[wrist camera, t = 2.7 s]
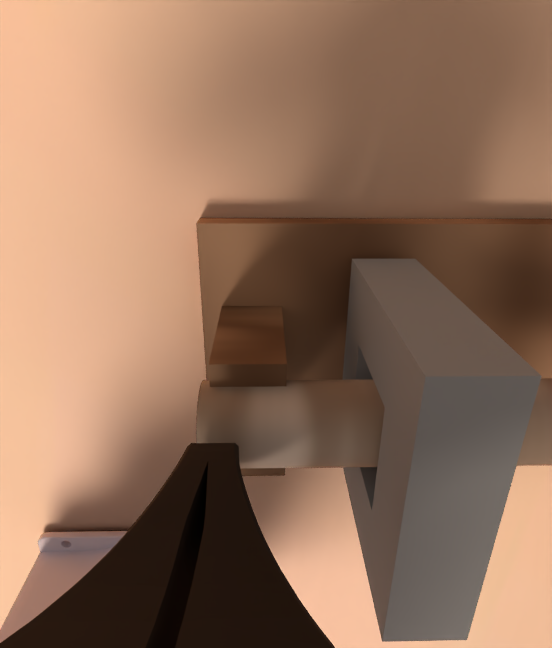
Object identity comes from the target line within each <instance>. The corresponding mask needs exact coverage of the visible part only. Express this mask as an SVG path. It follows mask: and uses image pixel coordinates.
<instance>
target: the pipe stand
mask: <svg viewBox="0 0 552 648" xmlns="http://www.w3.org/2000/svg"><path fill="white" fill-rule="evenodd" d="M197 238H198V254H199V269H200V285H201V300H202V316H203V332H204V347H205V363H206V378H207V380H203V381H202V383H201V386H200V390H199V396H198V405H197V422H196V443H236V444H237V445H238V446H239V463H240V469H241V474H242V476H273V475H285V468H331V467H377V466H378V458H379V450H380V442H381V434H382V426H383V418H384V410H385V407H384V404H383V402H382V399H381V397H380V395H379V392H378V390H377V387H376V385H375V383H374V380H373V379H364V380H343V367H344V354H345V341H346V328H347V315H348V302H349V289H350V277H351V264H352V259H416V260H417V261H418V262H419V263H421V264H422V265H423V266H424V267H425V268H426V269H427V270H428V271H429V272H430V273H431V274H432V275H433V276H435V277H436V278H437V279H438V280H439V281H440V282H441V283H442V284H443V285H444V286H445V287H446V288H447V289H449V290H450V291H451V292H452V293H453V294H454V295H455V296H456V297H457V298H458V299H459V300H460V301H462V302H463V303H464V304H465V305H466V306H467V307H468V308H469V309H470V310H471V311H472V312H473V313H474V314H476V315H477V316H478V317H479V318H480V319H481V320H482V321H483V322H484V323H485V324H486V325H487V326H488V327H490V328H491V329H492V330H493V331H494V332H495V333H496V334H497V335H498V336H499V337H500V338H501V339H502V340H504V341H505V342H506V343H507V344H508V345H509V346H510V347H511V348H512V349H513V350H514V351H515V352H516V353H518V354H519V355H520V356H521V357H522V358H523V359H524V360H525V361H526V362H527V363H528V364H529V365H530V366H532V367H533V368H534V369H535V370H536V371H537V372H538V373H539V374H540V375H541V376H542V377H541V380H540V384H539V387H538V391H537V394H536V398H535V402H534V405H533V409H532V412H531V416H530V419H529V423H528V426H527V430H526V433H525V437H524V440H523V444H522V447H521V451H520V454H519V458H518V461H517V465H516V466H523V465H552V219H347V218H200V219H199V220H198V222H197Z"/></svg>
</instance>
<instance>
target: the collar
mask: <svg viewBox="0 0 552 648" xmlns="http://www.w3.org/2000/svg"><path fill="white" fill-rule="evenodd" d="M541 377H542V376H541V375H540V374H539V373H538V372H537V371H536V370H535V369H534V368H533V367H532V366H530V365H529V364H528V363H527V362H526V361H525V360H524V359H523V358H522V357H521V356H520V355H519V354H518V353H516V352H515V351H514V350H513V349H512V348H511V347H510V346H509V345H508V344H507V343H506V342H505V341H504V340H502V339H501V338H500V337H499V336H498V335H497V334H496V333H495V332H494V331H493V330H492V329H491V328H490V327H488V326H487V325H486V324H485V323H484V322H483V321H482V320H481V319H480V318H479V317H478V316H477V315H476V314H474V313H473V312H472V311H471V310H470V309H469V308H468V307H467V306H466V305H465V304H464V303H463V302H462V301H460V300H459V299H458V298H457V297H456V296H455V295H454V294H453V293H452V292H451V291H450V290H449V289H447V288H446V287H445V286H444V285H443V284H442V283H441V282H440V281H439V280H438V279H437V278H436V277H435V276H433V275H432V274H431V273H430V272H429V271H428V270H427V269H426V268H425V267H424V266H423V265H422V264H421V263H419V262H418V261H417V260H416V259H352V264H351V277H350V289H349V302H348V315H347V328H346V341H345V354H344V367H343V380H364V379H373V380H374V383H375V385H376V387H377V390H378V392H379V395H380V397H381V399H382V402H383V404H384V407H385V410H384V418H383V426H382V434H381V442H380V450H379V458H378V466H377V467H343V469H344V474H345V478H346V483H347V487H348V491H349V496H350V500H351V505H352V509H353V514H354V518H355V523H356V527H357V531H358V536H359V540H360V545H361V549H362V554H363V558H364V562H365V567H366V571H367V576H368V580H369V585H370V589H371V594H372V598H373V602H374V607H375V611H376V616H377V620H378V625H379V629H380V634H381V638H382V641H434V640H467V638H468V634H469V631H470V627H471V624H472V620H473V617H474V613H475V609H476V606H477V602H478V599H479V595H480V592H481V588H482V585H483V581H484V578H485V574H486V571H487V567H488V564H489V560H490V557H491V553H492V550H493V546H494V543H495V539H496V535H497V532H498V528H499V525H500V521H501V518H502V514H503V511H504V507H505V504H506V500H507V497H508V493H509V490H510V486H511V483H512V479H513V476H514V472H515V468H516V465H517V461H518V458H519V454H520V451H521V447H522V444H523V440H524V437H525V433H526V430H527V426H528V423H529V419H530V416H531V412H532V409H533V405H534V402H535V398H536V394H537V391H538V387H539V384H540V380H541Z"/></svg>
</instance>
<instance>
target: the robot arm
mask: <svg viewBox="0 0 552 648" xmlns="http://www.w3.org/2000/svg"><path fill="white" fill-rule="evenodd" d="M38 546H39V549H40V552H41V553H40V554H39V556H38V558H37V560H36V562H35V564H34V565H33V567H32V569H31V571H30V573H29V575H28V577H27V579H26V581H25V583H24V585H23V587H22V589H21V591H20V593H19V594H18V596H17V598H16V600H15V602H14V604H13V606H12V608H11V610H10V612H9V614H8V616H7V618H6V620H5V622H4V623H3V625H2V627H1V629H0V648H335V647H334V646H333V644H332V643H331V642H330V640H329V639H328V638H327V637H326V635H325V634H324V633H323V632H322V630H321V629H320V628H319V626H318V625H317V624H316V622H315V621H314V620H313V618H312V617H311V616H310V614H309V613H308V611H307V610H306V608H305V607H304V606H303V604H302V603H301V601H300V600H299V598H298V597H297V595H296V594H295V592H294V590H293V589H292V587H291V585H290V584H289V582H288V581H287V579H286V577H285V576H284V574H283V573H282V571H281V569H280V567H279V566H278V564H277V562H276V560H275V558H274V556H273V554H272V553H271V551H270V549H269V547H268V544H267V542H266V540H265V538H264V536H263V534H262V532H261V529H260V527H259V525H258V522H257V520H256V517H255V515H254V512H253V510H252V507H251V504H250V502H249V498H248V495H247V492H246V489H245V486H244V482H243V478H242V474H241V469H240V463H239V446H238V445H237V444H236V443H191V444H190V445H189V446H188V447H187V448H186V450H185V452H184V454H183V456H182V457H181V459H180V461H179V462H178V464H177V466H176V467H175V469H174V470H173V472H172V473H171V475H170V476H169V478H168V479H167V481H166V482H165V484H164V485H163V486H162V488H161V489H160V491H159V492H158V494H157V495H156V496H155V498H154V499H153V500H152V502H151V503H150V504H149V506H148V507H147V508H146V509H145V511H144V512H143V513H142V514H141V516H140V517H139V518H138V519H137V521H136V522H135V523H134V524H133V526H132V527H131V528H130V529H129V530H128V531H88V532H46V533H43V534H42V535H41V536H40V538H39V540H38Z"/></svg>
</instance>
